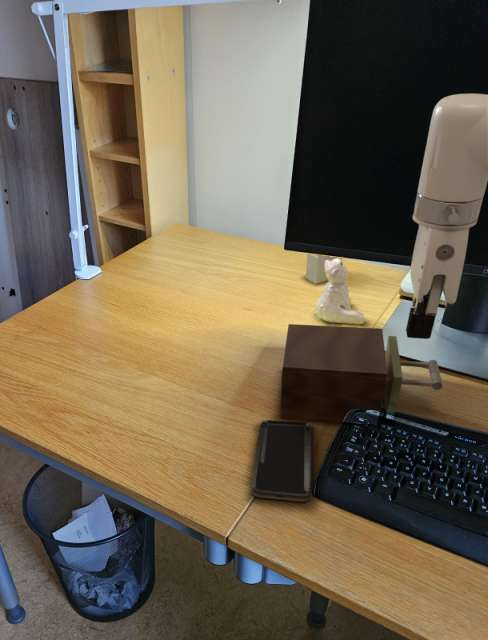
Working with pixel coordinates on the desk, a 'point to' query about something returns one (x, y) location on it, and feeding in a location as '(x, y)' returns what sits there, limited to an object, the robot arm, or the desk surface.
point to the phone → (284, 461)
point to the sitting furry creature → (337, 296)
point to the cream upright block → (317, 267)
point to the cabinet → (332, 372)
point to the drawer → (396, 377)
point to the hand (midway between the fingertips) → (417, 335)
